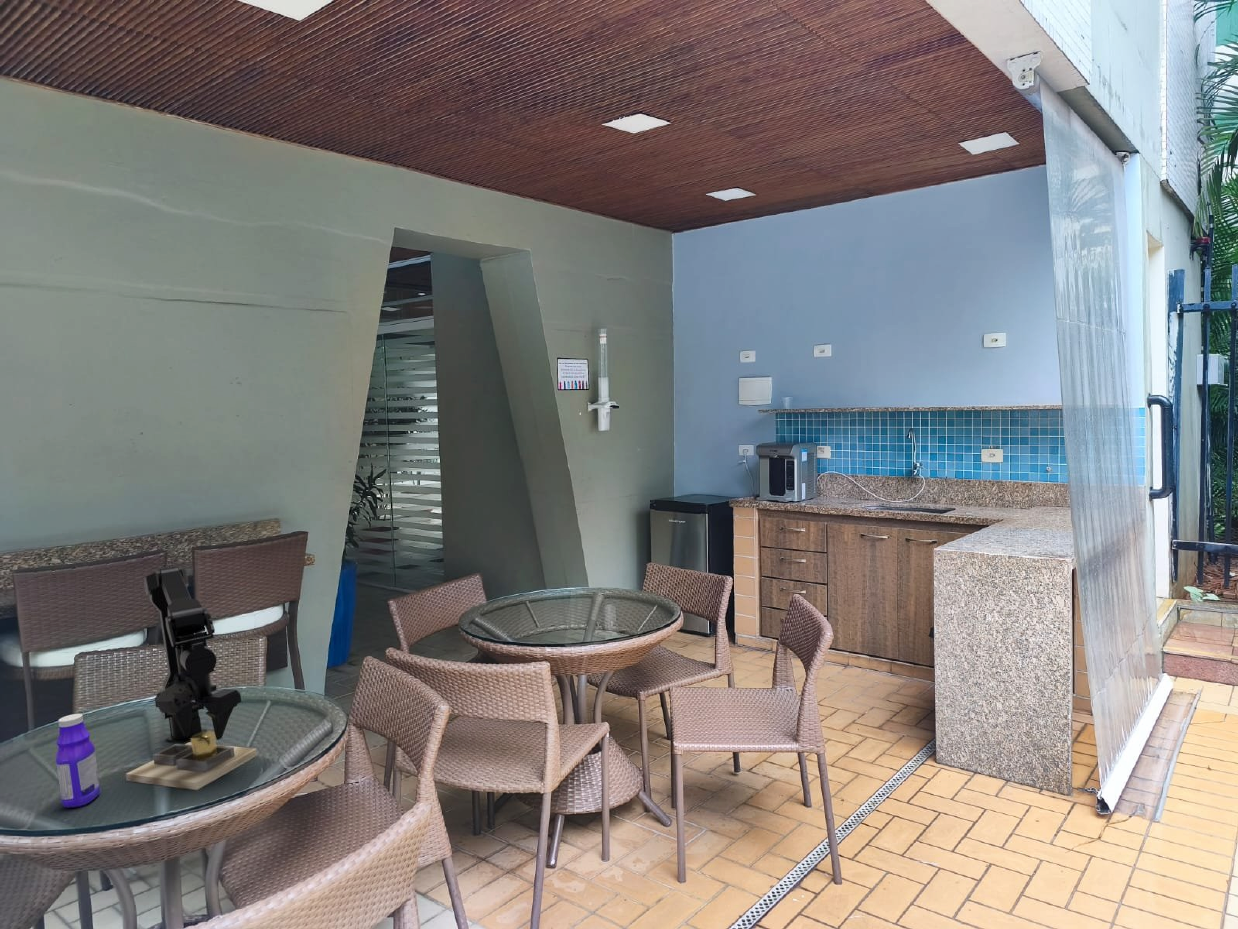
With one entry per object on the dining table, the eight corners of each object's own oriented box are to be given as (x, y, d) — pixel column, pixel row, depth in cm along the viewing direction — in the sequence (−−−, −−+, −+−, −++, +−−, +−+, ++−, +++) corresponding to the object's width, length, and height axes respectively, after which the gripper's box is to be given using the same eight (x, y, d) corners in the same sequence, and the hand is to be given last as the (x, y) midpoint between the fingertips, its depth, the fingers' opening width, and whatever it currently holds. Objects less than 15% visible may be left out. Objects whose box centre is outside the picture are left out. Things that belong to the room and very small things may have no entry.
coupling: (189, 766, 176) (185, 739, 176) (207, 757, 181) (203, 730, 180) (205, 768, 175) (201, 740, 174) (223, 759, 179) (219, 731, 178)
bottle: (77, 794, 171) (65, 712, 169) (106, 791, 171) (94, 709, 170) (56, 811, 164) (44, 726, 162) (87, 808, 164) (74, 722, 163)
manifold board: (126, 780, 175) (124, 764, 175) (190, 748, 190) (188, 733, 190) (196, 790, 168) (194, 773, 168) (257, 755, 183) (255, 740, 182)
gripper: (127, 677, 172) (137, 750, 173) (194, 681, 165) (204, 757, 166) (173, 659, 182) (183, 728, 183) (238, 662, 175) (247, 734, 176)
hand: (203, 737), depth 177 cm, fingers open, 9 cm apart
